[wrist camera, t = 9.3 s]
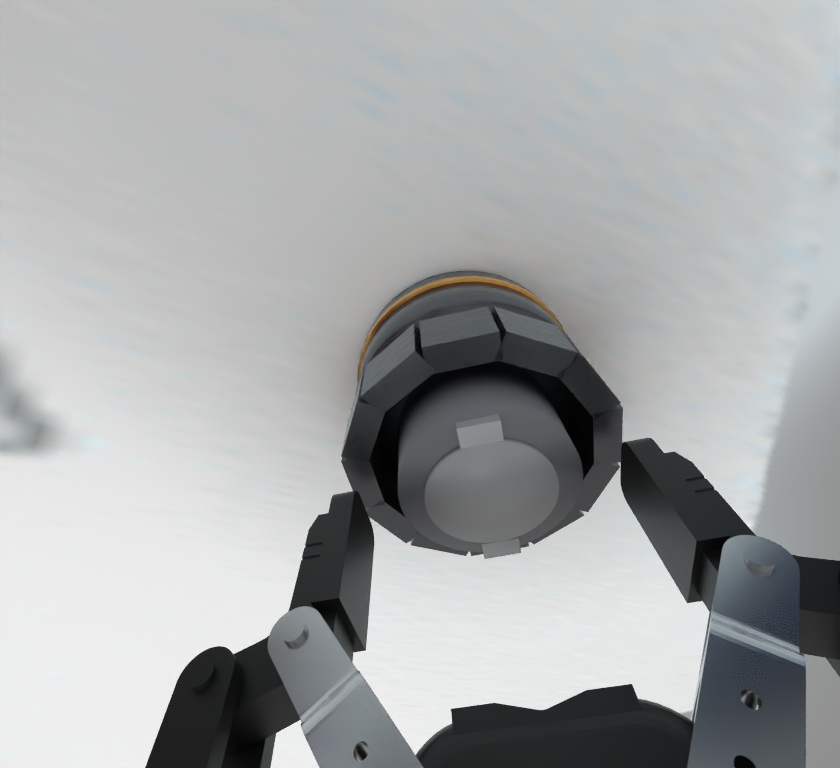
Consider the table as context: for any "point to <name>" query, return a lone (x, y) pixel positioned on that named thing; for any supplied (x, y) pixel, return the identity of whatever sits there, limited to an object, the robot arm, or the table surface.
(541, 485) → the lens cap
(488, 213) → the table surface
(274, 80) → the table surface
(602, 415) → the lens barrel
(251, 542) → the table surface
